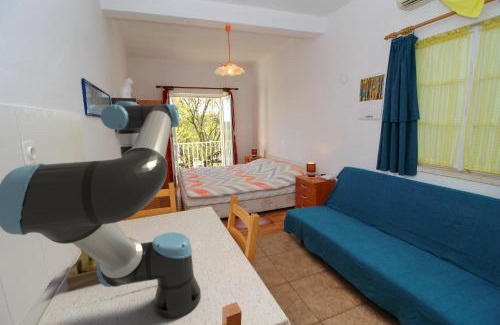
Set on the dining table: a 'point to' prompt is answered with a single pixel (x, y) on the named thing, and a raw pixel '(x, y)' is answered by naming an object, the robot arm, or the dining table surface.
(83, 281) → the caddy
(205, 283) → the dining table surface
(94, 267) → the sauce bottle
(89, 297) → the dining table surface
